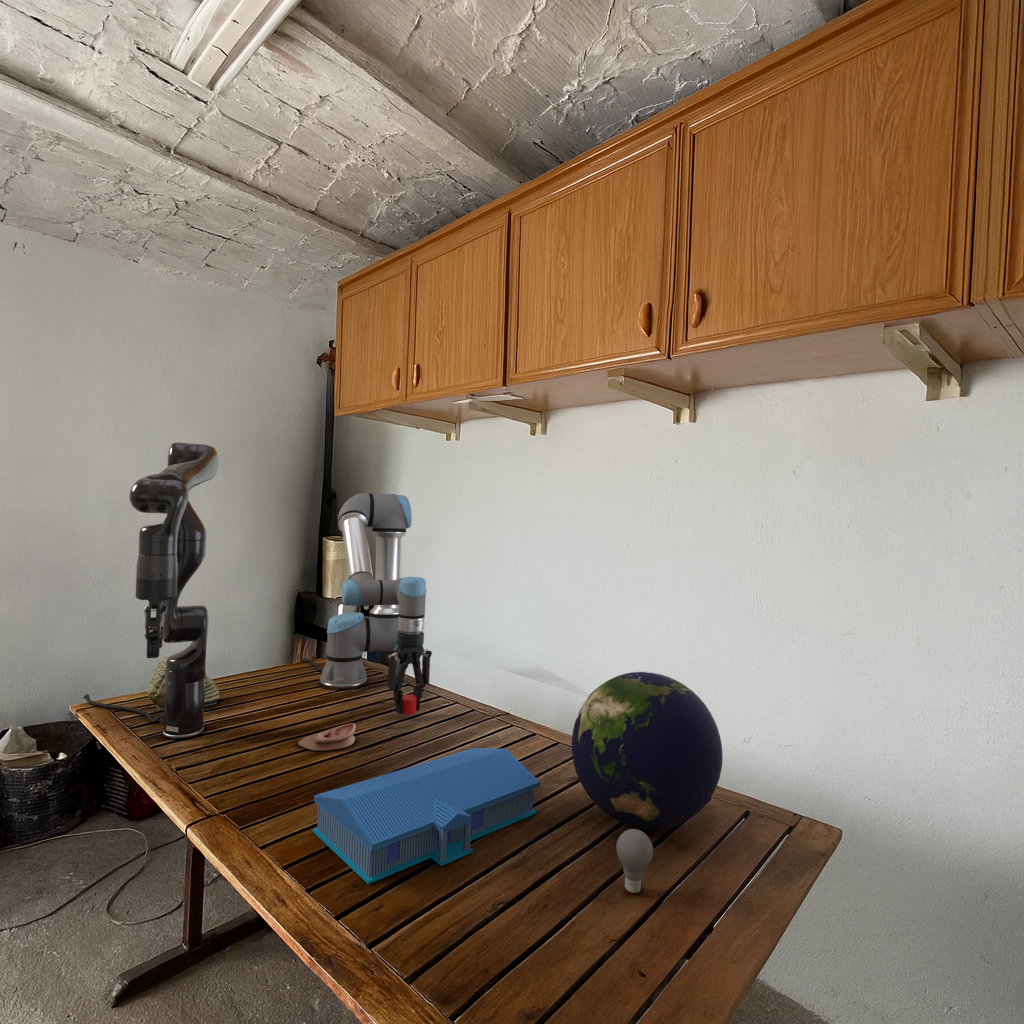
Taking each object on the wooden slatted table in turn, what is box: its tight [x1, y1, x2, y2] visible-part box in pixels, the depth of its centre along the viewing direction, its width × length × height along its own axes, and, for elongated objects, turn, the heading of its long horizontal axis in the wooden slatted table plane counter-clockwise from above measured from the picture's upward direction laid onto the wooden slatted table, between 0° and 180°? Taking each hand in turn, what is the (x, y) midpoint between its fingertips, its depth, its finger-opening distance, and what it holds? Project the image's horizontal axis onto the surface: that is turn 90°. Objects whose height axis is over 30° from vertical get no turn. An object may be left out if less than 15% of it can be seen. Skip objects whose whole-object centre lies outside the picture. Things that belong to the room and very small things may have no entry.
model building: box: [312, 747, 541, 885], centre depth 124 cm, size 39×24×10 cm, turn 132°
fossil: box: [147, 654, 221, 712], centre depth 185 cm, size 9×18×15 cm, turn 132°
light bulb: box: [615, 828, 654, 894], centre depth 106 cm, size 6×6×10 cm
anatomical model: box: [297, 722, 357, 751], centre depth 162 cm, size 13×4×12 cm
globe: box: [571, 671, 724, 831], centre depth 129 cm, size 30×30×30 cm
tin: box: [401, 694, 417, 716], centre depth 183 cm, size 5×5×4 cm
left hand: (154, 652), depth 132 cm, fingers open, 8 cm apart
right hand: (407, 710), depth 183 cm, fingers closed on tin, 5 cm apart
